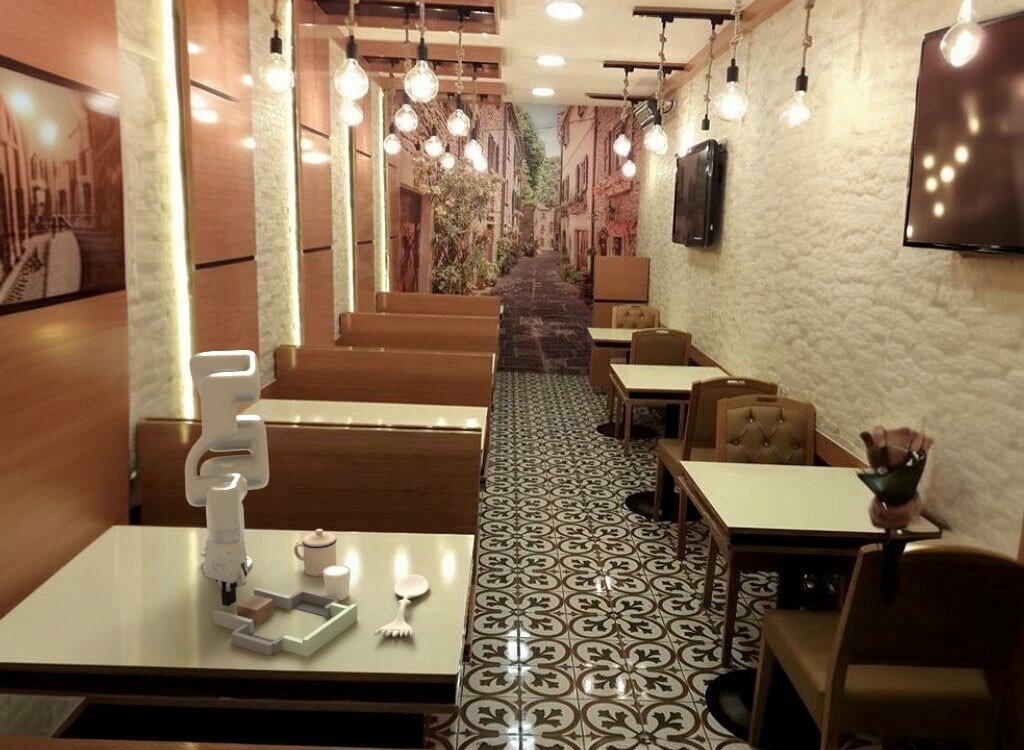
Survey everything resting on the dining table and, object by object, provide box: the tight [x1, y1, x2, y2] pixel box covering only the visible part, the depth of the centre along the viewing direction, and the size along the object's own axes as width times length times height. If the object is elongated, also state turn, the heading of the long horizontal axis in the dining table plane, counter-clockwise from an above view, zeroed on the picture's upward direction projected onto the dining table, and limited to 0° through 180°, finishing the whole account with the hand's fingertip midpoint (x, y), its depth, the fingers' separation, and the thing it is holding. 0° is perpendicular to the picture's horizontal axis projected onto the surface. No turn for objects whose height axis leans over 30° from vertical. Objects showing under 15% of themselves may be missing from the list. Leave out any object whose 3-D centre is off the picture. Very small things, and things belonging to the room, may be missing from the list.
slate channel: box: [213, 587, 358, 658], centre depth 186 cm, size 29×18×4 cm, turn 65°
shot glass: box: [322, 564, 351, 601], centre depth 200 cm, size 7×7×7 cm
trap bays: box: [230, 589, 341, 657], centre depth 185 cm, size 12×25×2 cm, turn 155°
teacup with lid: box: [293, 528, 337, 577], centre depth 215 cm, size 12×9×12 cm
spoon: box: [374, 574, 430, 638], centre depth 193 cm, size 9×32×4 cm, turn 178°
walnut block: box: [235, 594, 275, 626], centre depth 189 cm, size 6×6×4 cm
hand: (229, 603), depth 193 cm, fingers closed
